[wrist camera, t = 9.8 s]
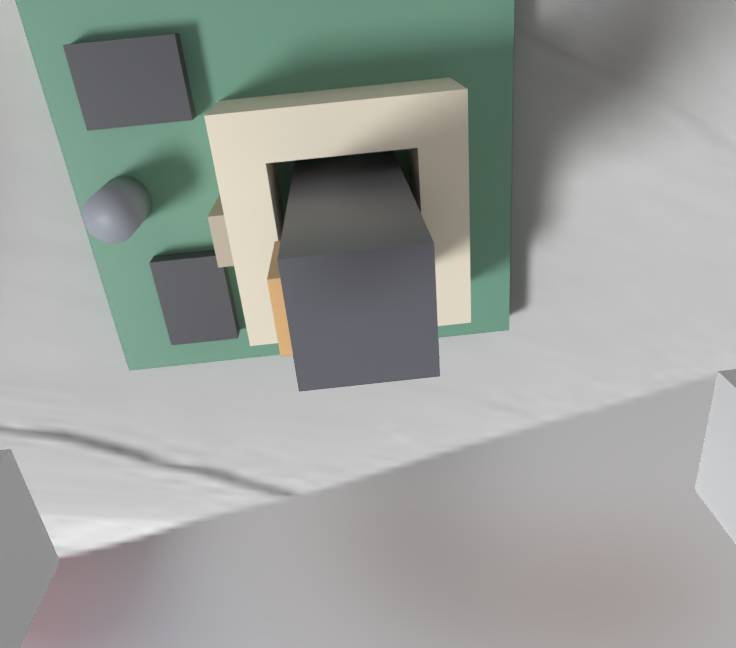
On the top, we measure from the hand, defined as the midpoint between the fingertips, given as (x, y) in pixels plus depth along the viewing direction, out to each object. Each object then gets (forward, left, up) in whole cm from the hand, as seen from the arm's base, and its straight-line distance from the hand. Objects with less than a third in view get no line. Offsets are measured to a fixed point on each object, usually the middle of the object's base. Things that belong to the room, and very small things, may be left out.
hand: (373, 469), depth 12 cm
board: (-2, +1, -18) cm, 18 cm away
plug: (0, 0, -17) cm, 17 cm away
